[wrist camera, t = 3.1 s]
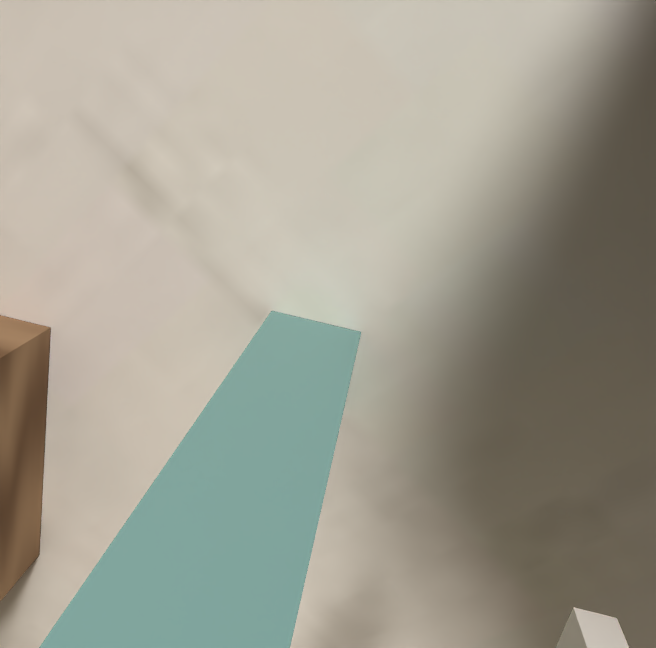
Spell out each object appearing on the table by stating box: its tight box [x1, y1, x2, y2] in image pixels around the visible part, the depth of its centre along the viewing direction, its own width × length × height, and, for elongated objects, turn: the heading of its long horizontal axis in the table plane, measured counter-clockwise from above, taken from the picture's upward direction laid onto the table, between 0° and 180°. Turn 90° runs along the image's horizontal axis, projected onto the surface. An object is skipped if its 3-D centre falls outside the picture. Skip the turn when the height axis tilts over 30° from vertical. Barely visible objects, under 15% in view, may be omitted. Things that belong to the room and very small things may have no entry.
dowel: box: [39, 311, 361, 648], centre depth 14 cm, size 3×3×14 cm
